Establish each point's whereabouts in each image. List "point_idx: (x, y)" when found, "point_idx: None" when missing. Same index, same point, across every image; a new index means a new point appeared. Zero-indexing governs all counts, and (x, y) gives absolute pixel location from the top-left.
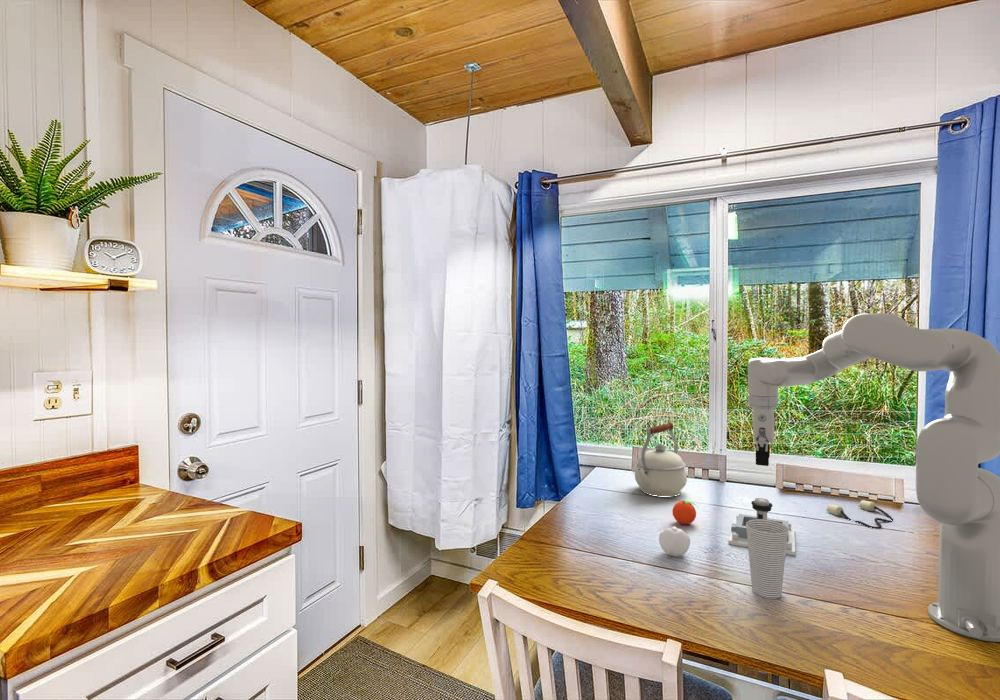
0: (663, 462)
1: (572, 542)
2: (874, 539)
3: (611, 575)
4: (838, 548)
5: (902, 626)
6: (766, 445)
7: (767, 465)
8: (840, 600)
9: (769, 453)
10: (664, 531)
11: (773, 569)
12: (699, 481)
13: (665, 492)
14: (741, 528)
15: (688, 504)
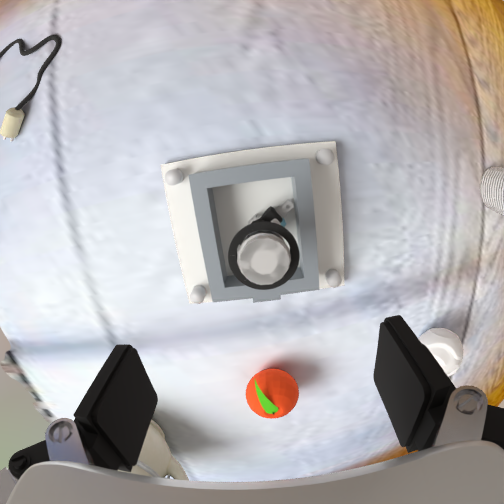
0: None
1: None
2: (120, 21)
3: (486, 363)
4: (221, 60)
5: (476, 27)
6: (476, 439)
7: (396, 320)
8: (465, 82)
9: (117, 362)
10: (451, 374)
11: None
12: (34, 376)
13: (154, 428)
14: (318, 275)
15: (279, 402)
